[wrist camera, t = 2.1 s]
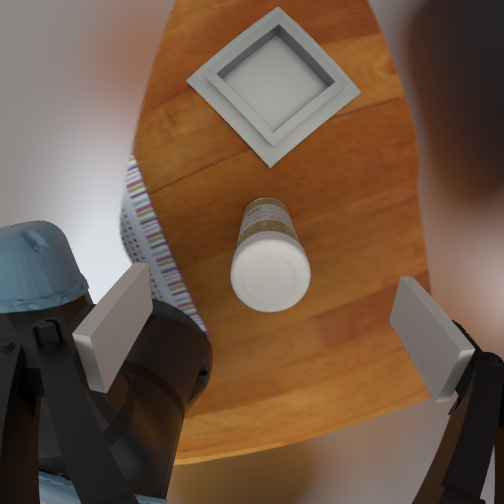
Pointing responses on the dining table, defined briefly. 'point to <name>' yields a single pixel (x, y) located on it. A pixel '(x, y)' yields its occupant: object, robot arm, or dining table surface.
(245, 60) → the holder
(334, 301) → the dining table surface
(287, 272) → the spice jar
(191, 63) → the dining table surface
